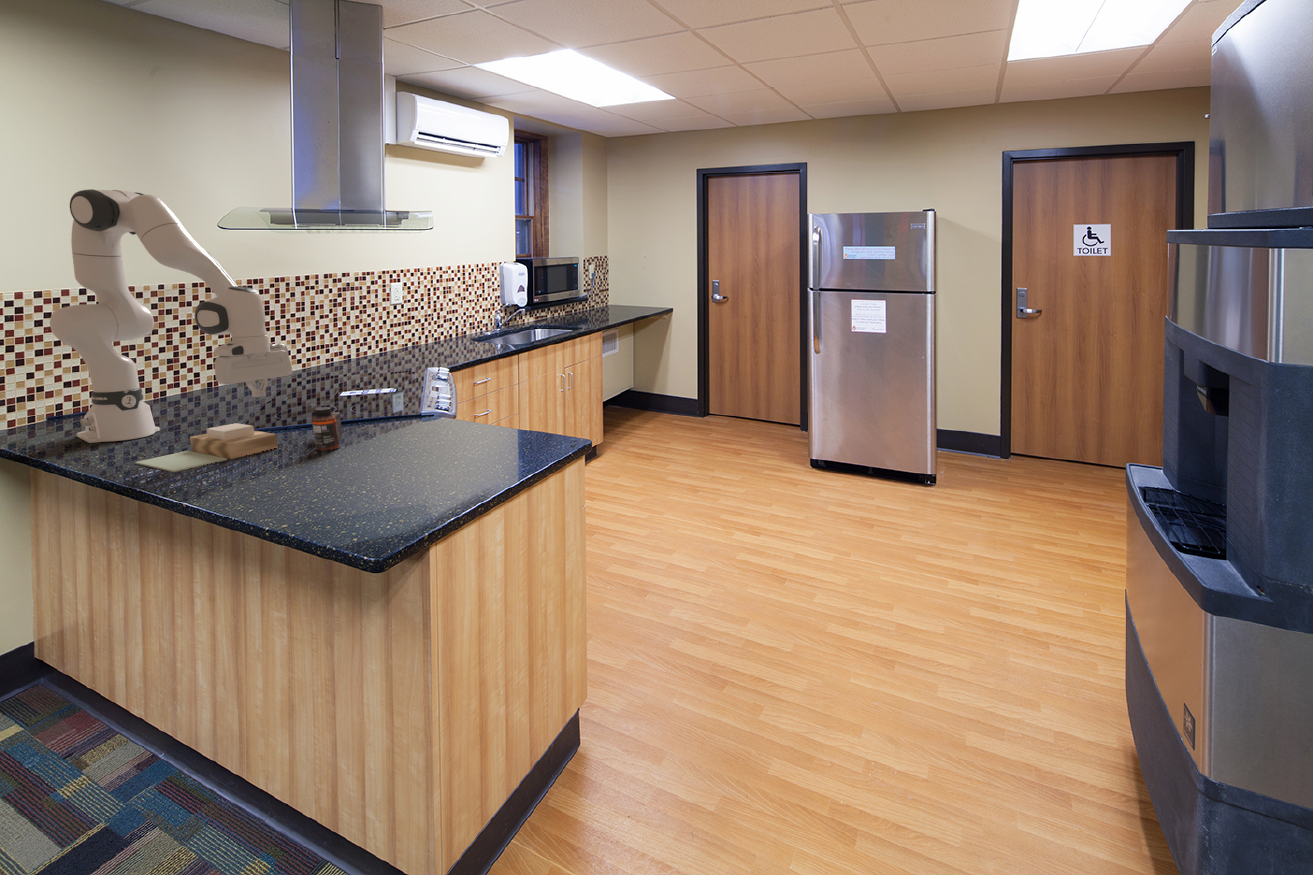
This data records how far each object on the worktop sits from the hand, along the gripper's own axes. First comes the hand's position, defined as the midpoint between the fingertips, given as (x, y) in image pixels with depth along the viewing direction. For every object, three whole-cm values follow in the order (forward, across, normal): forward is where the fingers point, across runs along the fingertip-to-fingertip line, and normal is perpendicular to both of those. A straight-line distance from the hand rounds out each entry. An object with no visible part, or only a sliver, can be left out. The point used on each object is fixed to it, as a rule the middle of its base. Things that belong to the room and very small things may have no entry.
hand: (259, 396), depth 200 cm
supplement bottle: (+14, -4, +21) cm, 26 cm away
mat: (+14, +23, -1) cm, 26 cm away
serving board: (+14, +9, -1) cm, 16 cm away
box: (+14, -12, +11) cm, 22 cm away
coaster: (+10, +9, 0) cm, 13 cm away
